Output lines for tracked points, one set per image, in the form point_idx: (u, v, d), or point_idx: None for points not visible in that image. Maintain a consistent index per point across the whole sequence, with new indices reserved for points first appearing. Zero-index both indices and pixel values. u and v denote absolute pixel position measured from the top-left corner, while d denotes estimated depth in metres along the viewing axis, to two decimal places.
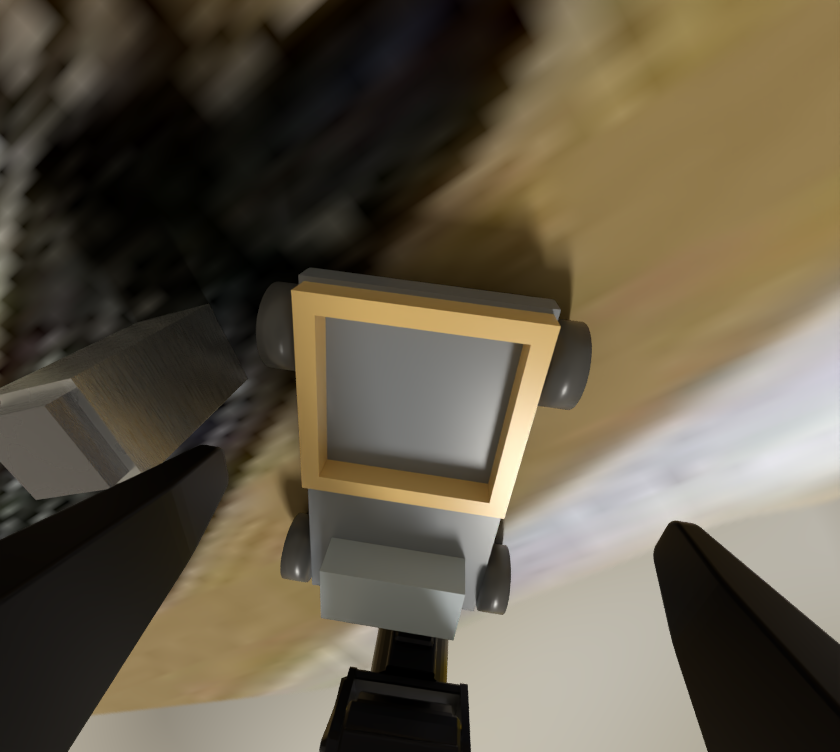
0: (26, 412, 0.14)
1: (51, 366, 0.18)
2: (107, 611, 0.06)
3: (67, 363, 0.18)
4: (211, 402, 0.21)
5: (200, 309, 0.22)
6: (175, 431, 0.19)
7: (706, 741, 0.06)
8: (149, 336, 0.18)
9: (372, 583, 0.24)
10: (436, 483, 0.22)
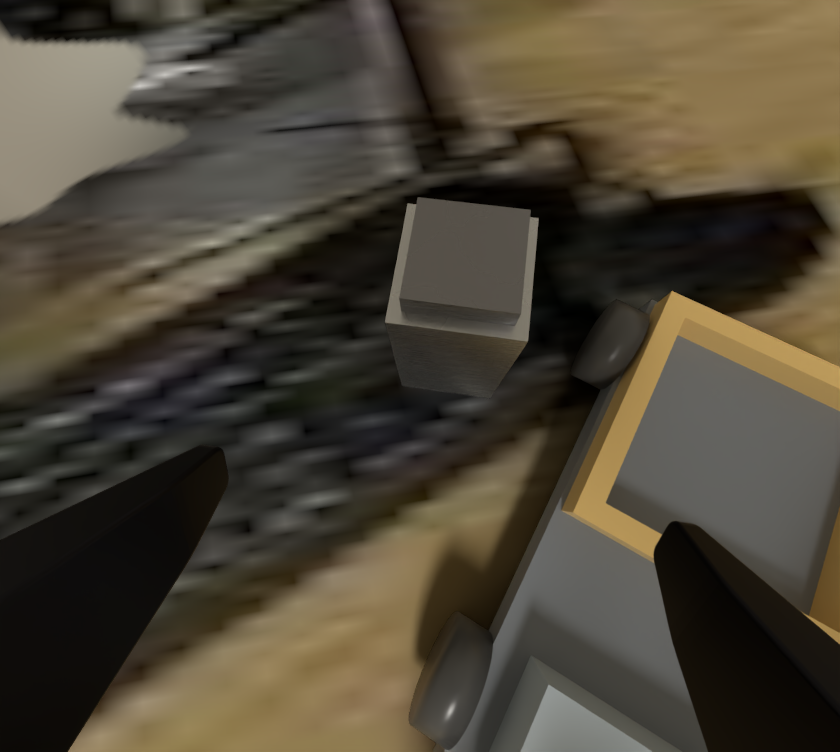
0: (504, 208, 0.14)
1: None
2: (107, 611, 0.06)
3: None
4: None
5: None
6: None
7: (706, 741, 0.06)
8: None
9: None
10: None
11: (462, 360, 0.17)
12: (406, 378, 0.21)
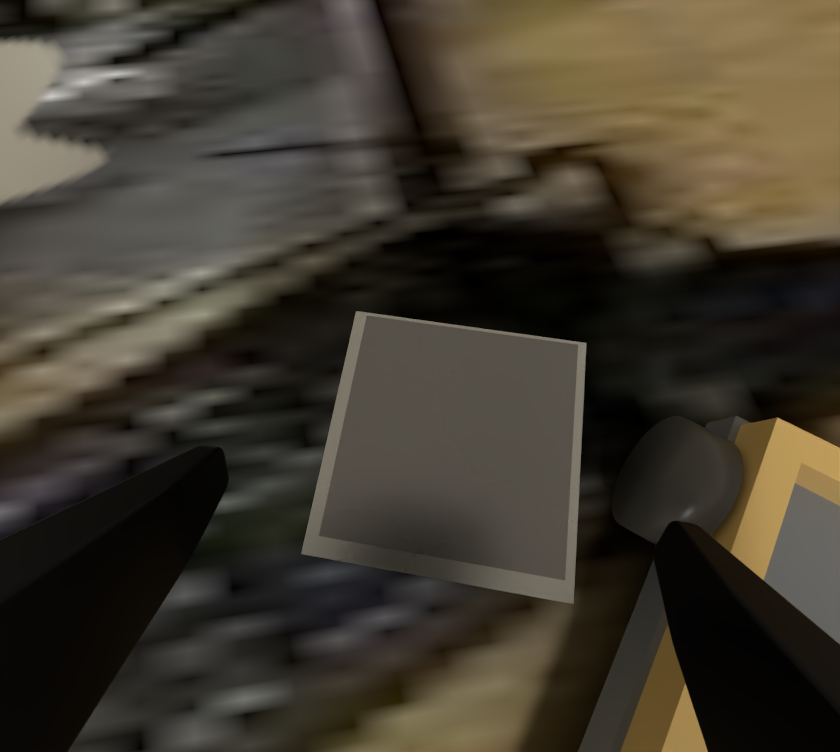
0: (527, 342, 0.07)
1: None
2: (107, 611, 0.06)
3: None
4: None
5: None
6: None
7: (706, 741, 0.06)
8: None
9: None
10: None
11: None
12: None
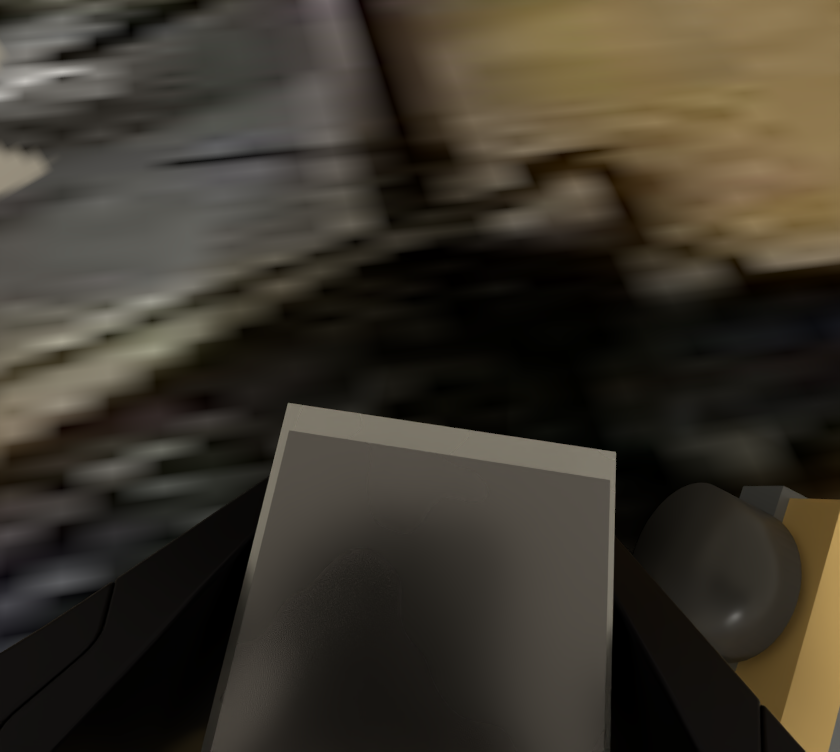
0: (532, 475, 0.05)
1: None
2: None
3: None
4: None
5: None
6: None
7: None
8: None
9: None
10: None
11: None
12: None
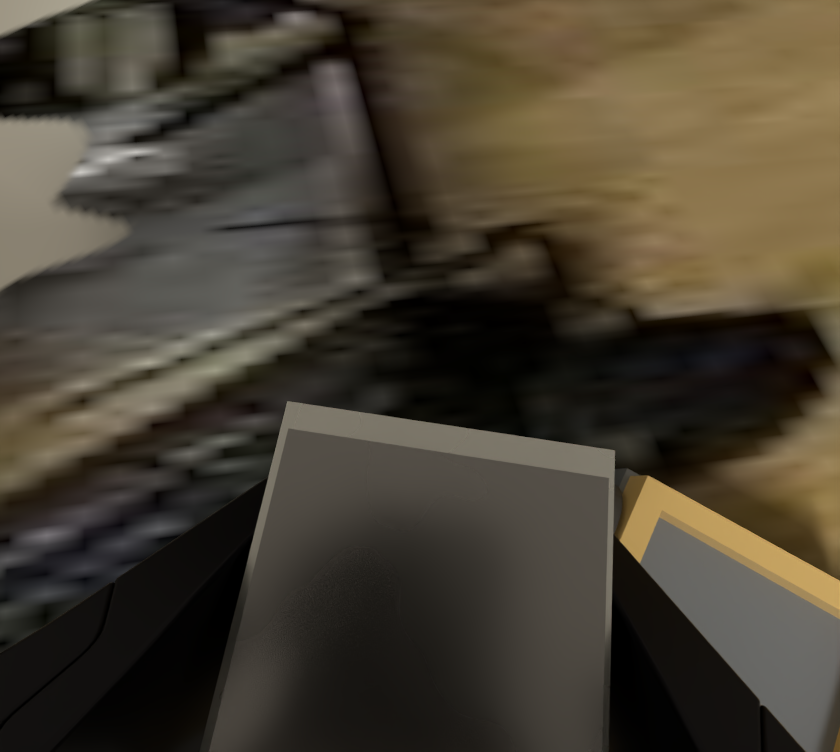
0: (531, 473, 0.05)
1: None
2: None
3: None
4: None
5: None
6: None
7: None
8: None
9: None
10: None
11: None
12: None
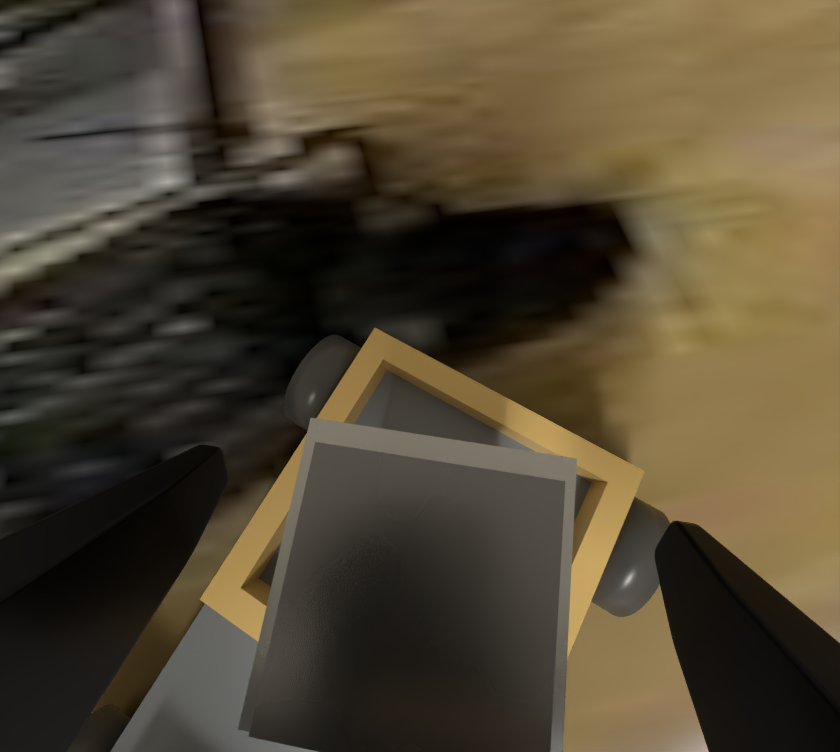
0: (505, 477, 0.06)
1: None
2: (106, 611, 0.06)
3: None
4: None
5: None
6: None
7: (707, 741, 0.06)
8: None
9: None
10: None
11: None
12: None
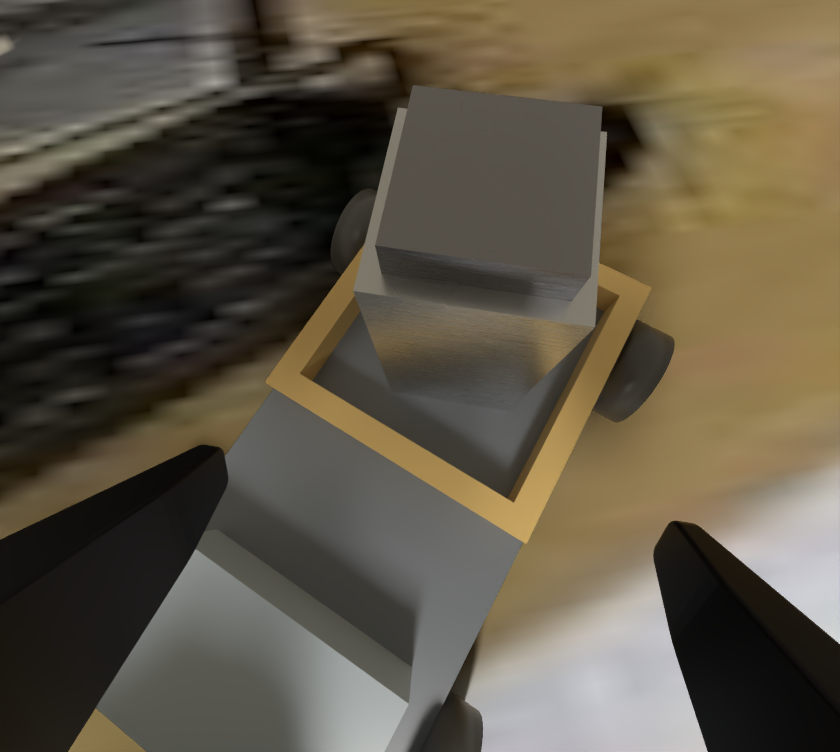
0: (557, 104, 0.08)
1: None
2: (107, 611, 0.06)
3: None
4: None
5: None
6: None
7: (706, 741, 0.06)
8: None
9: (249, 605, 0.13)
10: None
11: (476, 359, 0.11)
12: (396, 382, 0.15)
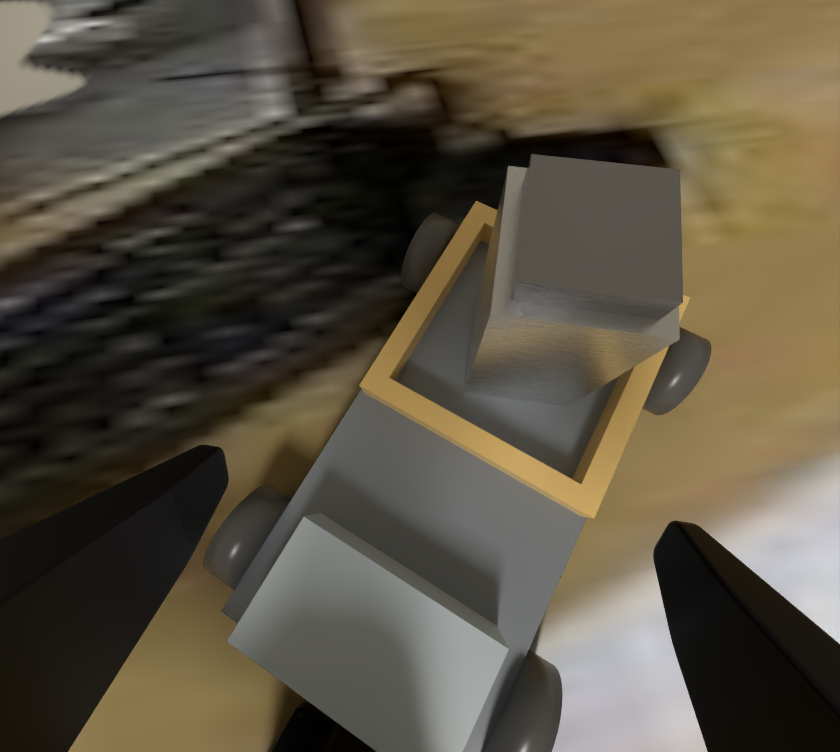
0: (645, 168, 0.11)
1: None
2: (107, 611, 0.06)
3: None
4: None
5: None
6: None
7: (706, 741, 0.06)
8: None
9: (369, 572, 0.15)
10: None
11: (564, 363, 0.14)
12: (474, 383, 0.18)
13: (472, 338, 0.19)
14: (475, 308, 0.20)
